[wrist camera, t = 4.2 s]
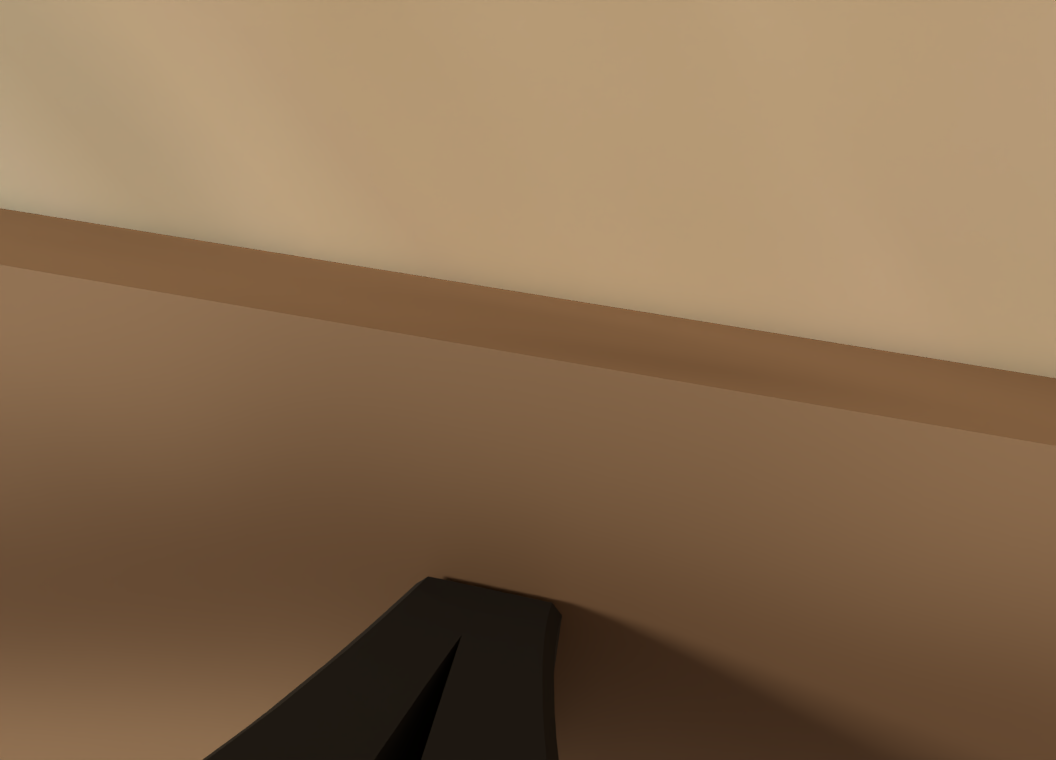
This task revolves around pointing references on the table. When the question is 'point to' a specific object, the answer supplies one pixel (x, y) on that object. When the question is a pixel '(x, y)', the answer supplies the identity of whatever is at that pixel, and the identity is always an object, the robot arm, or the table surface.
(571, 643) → the loose plank
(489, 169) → the table surface
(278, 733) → the robot arm
